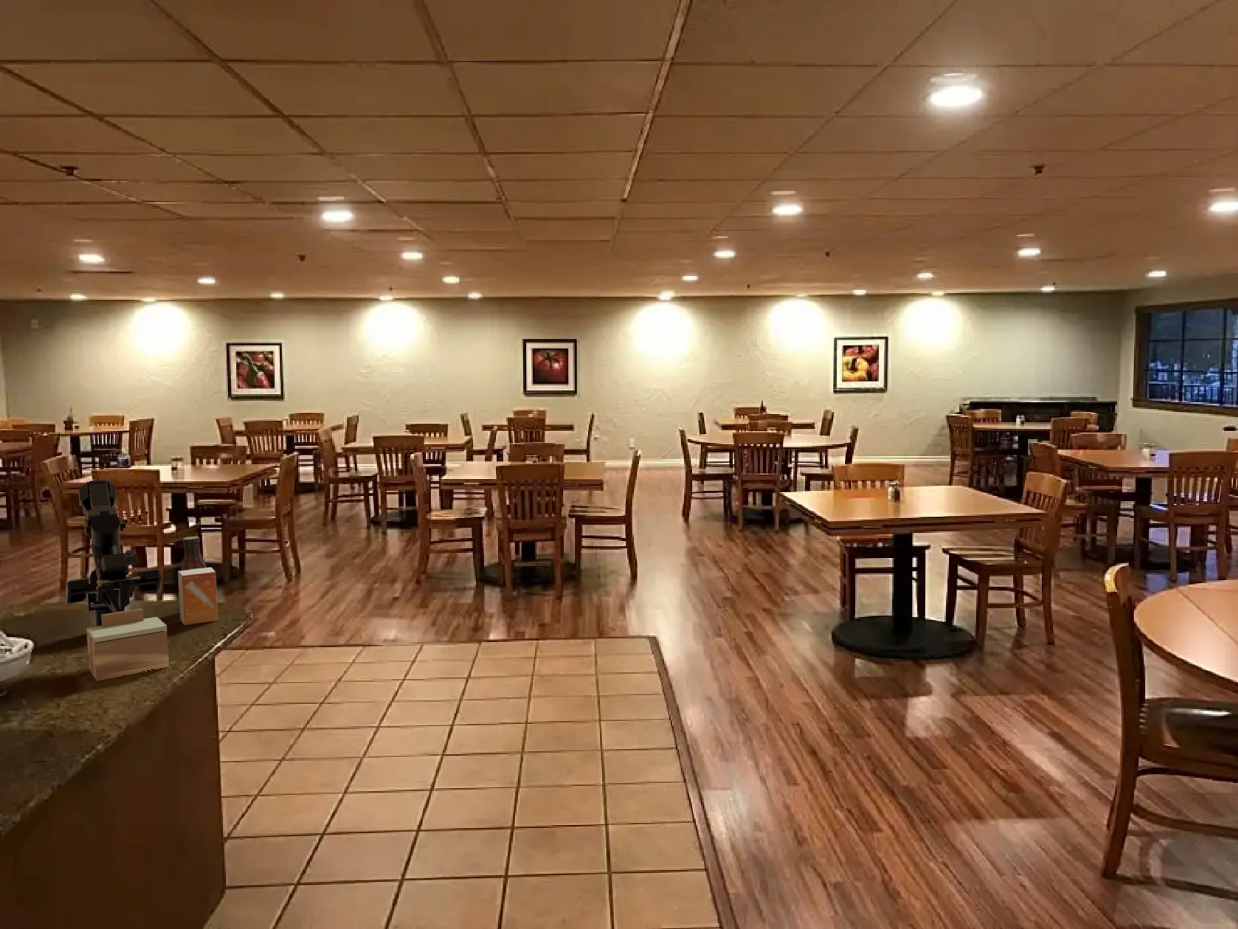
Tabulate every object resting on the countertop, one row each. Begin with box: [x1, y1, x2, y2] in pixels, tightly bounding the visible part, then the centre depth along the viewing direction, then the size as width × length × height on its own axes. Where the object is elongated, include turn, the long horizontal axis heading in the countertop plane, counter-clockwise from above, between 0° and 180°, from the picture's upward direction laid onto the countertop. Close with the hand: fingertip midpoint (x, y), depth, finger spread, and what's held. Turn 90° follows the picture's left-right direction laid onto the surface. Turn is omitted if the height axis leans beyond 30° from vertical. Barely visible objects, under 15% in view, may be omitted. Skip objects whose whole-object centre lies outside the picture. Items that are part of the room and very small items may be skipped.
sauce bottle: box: [180, 536, 208, 571], centre depth 249 cm, size 6×6×20 cm
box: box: [86, 630, 170, 682], centre depth 204 cm, size 9×14×8 cm, turn 128°
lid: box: [86, 607, 168, 643], centre depth 203 cm, size 9×14×4 cm, turn 128°
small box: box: [177, 567, 219, 626], centre depth 240 cm, size 8×6×13 cm
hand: (121, 617), depth 207 cm, fingers closed, pressing on lid
